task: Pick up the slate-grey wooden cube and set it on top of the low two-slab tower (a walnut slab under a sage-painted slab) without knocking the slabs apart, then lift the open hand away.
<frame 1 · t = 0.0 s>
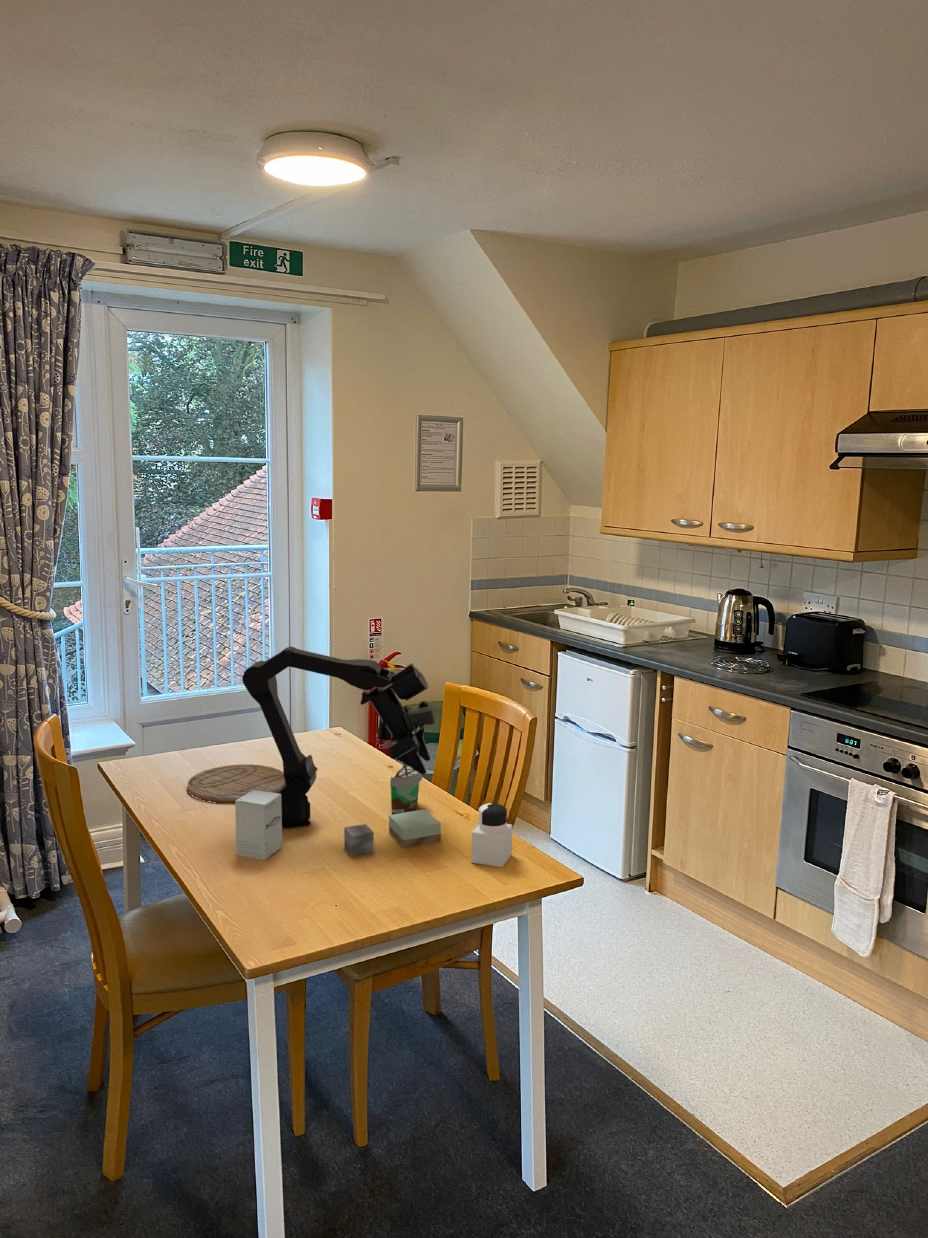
hand: (426, 766, 215), 15 cm above the table, tool tilted 35°, fingers open, 9 cm apart
walnut slab: (414, 840, 212), on the table, touching sage slab
grey cube: (358, 851, 205), on the table
medicine bottle: (491, 860, 202), on the table
sage slab: (414, 829, 212), point 2 cm above the table, touching walnut slab
trivet: (237, 788, 242), on the table
food container: (409, 810, 229), on the table
supplement box: (259, 852, 203), on the table
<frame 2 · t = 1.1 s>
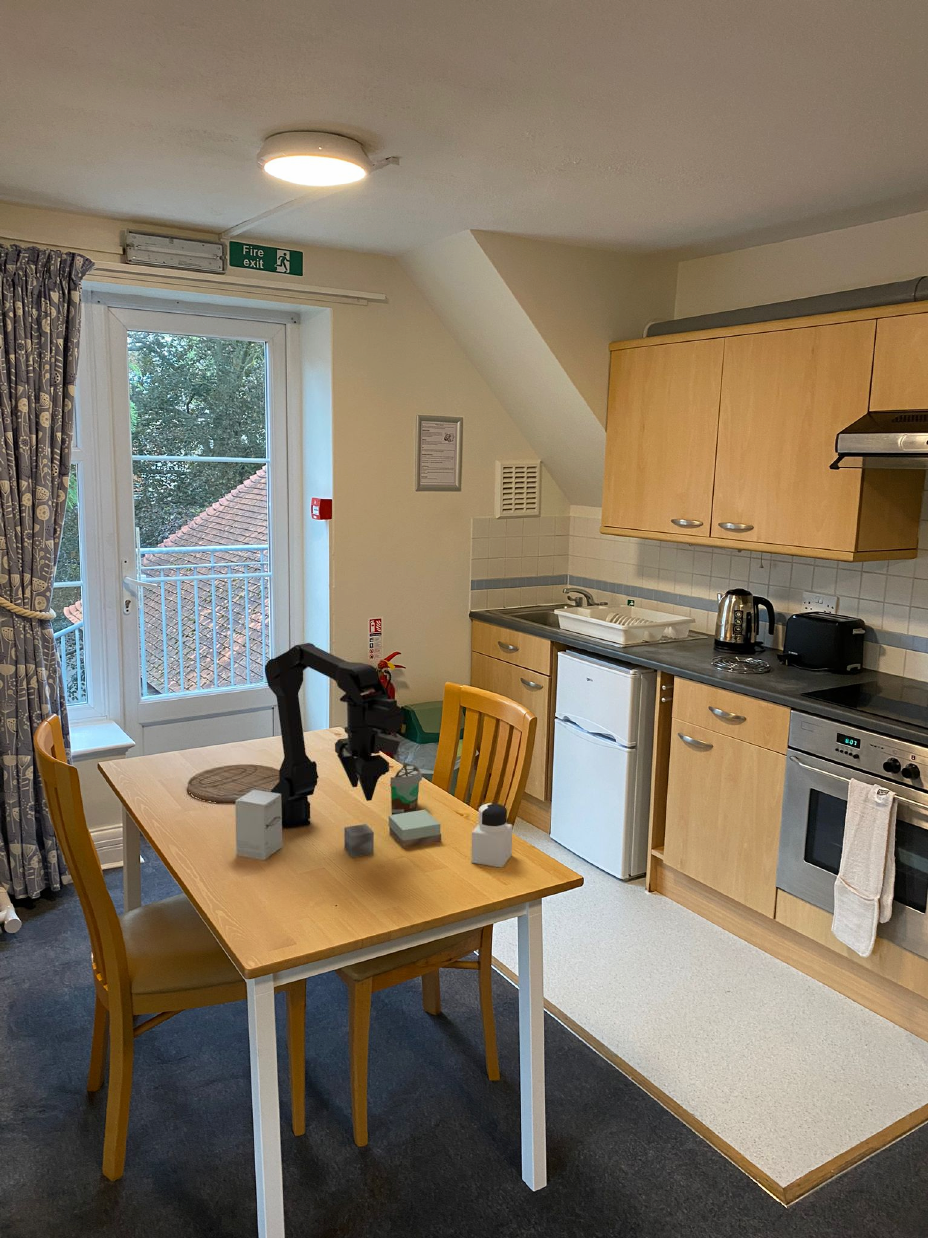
hand: (361, 793, 203), 13 cm above the table, tool pointing down, fingers open, 9 cm apart
nothing on the table moved.
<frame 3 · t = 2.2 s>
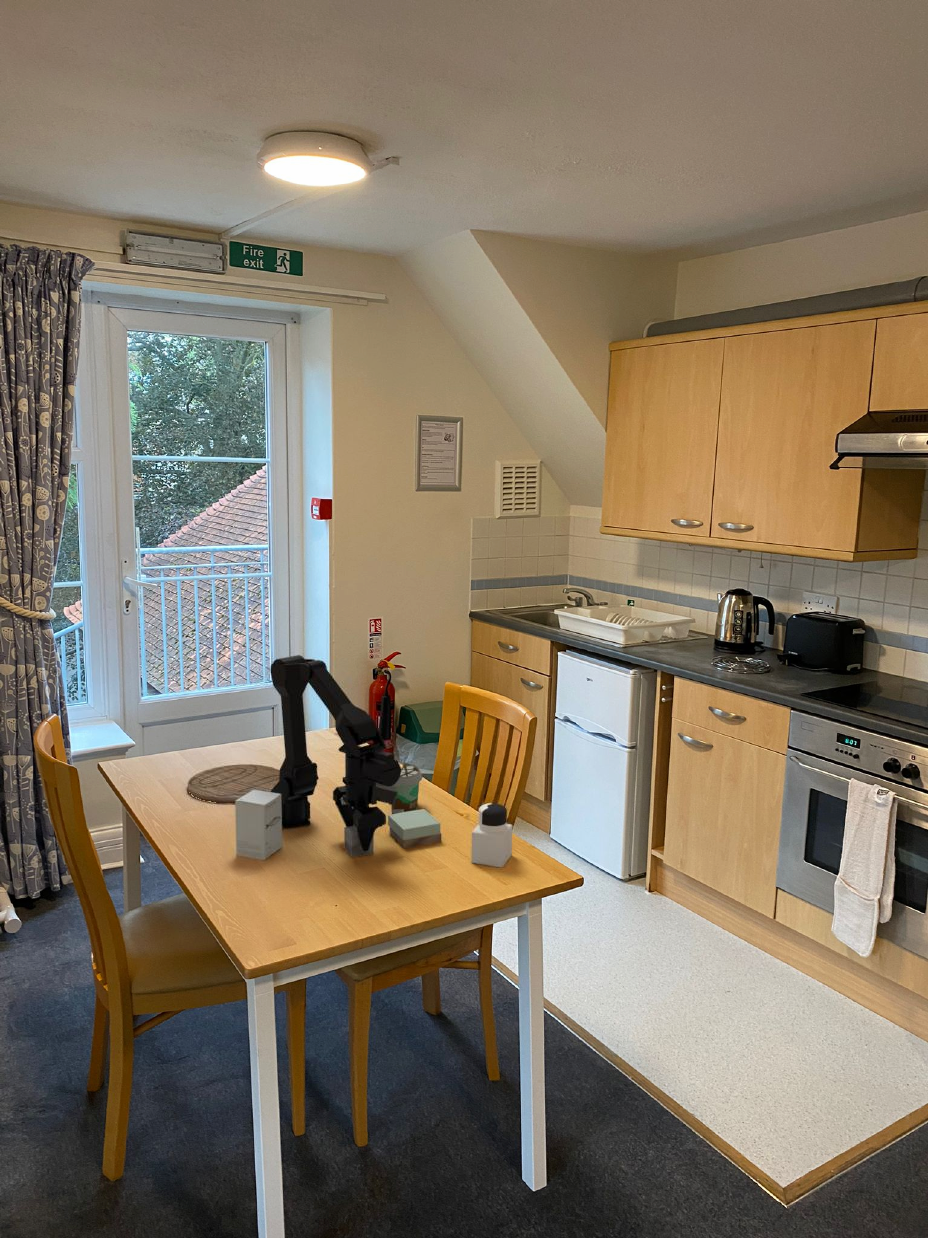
hand: (358, 842, 204), 2 cm above the table, tool pointing down, fingers open, 9 cm apart
nothing on the table moved.
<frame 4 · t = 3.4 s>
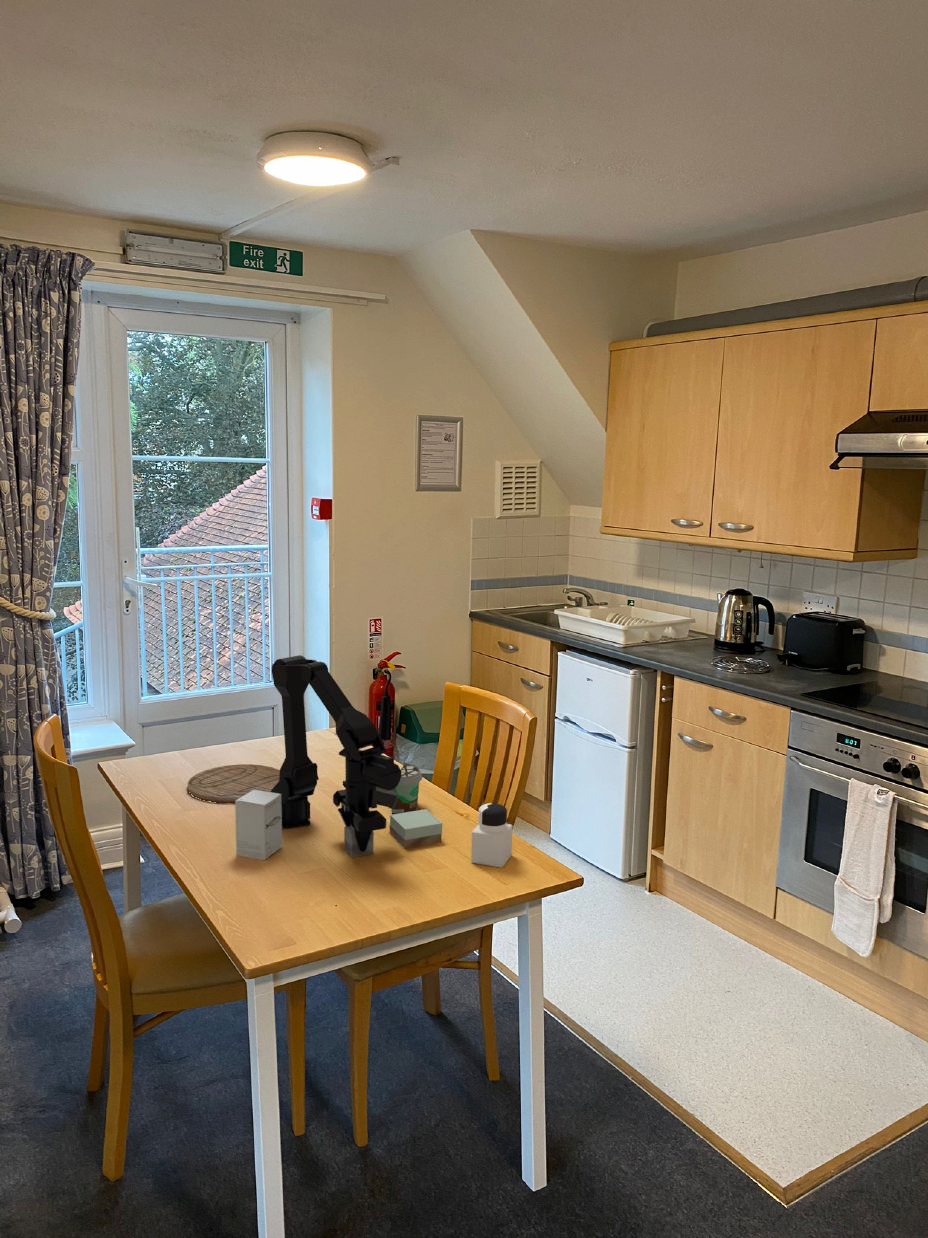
hand: (358, 846, 204), 1 cm above the table, tool pointing down, fingers closed on grey cube, 5 cm apart
grey cube: (358, 851, 205), on the table, touching gripper
everything else where it was.
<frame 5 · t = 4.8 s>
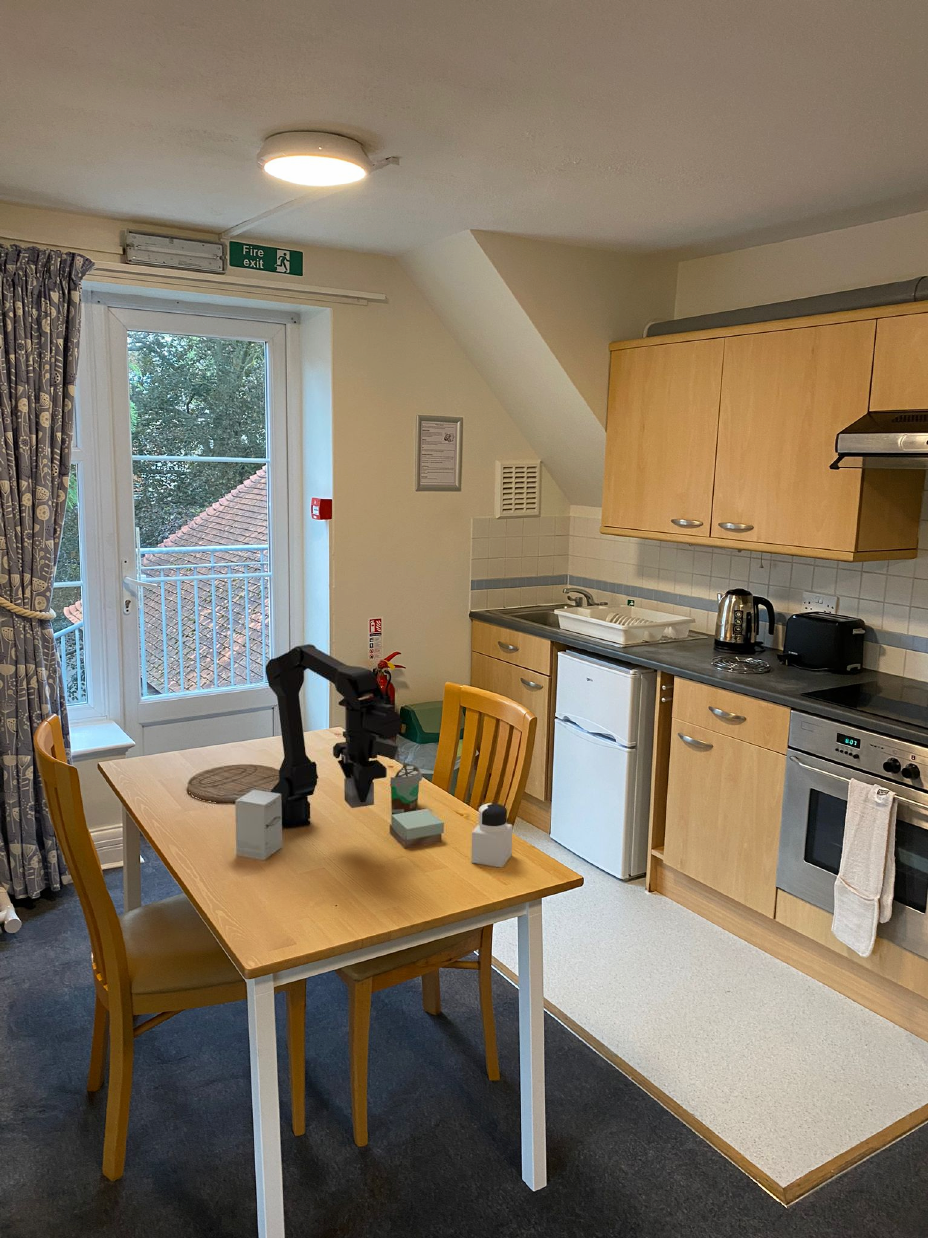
hand: (359, 798, 202), 12 cm above the table, tool pointing down, fingers closed on grey cube, 5 cm apart
grey cube: (359, 802, 203), point 11 cm above the table, touching gripper
everything else where it was.
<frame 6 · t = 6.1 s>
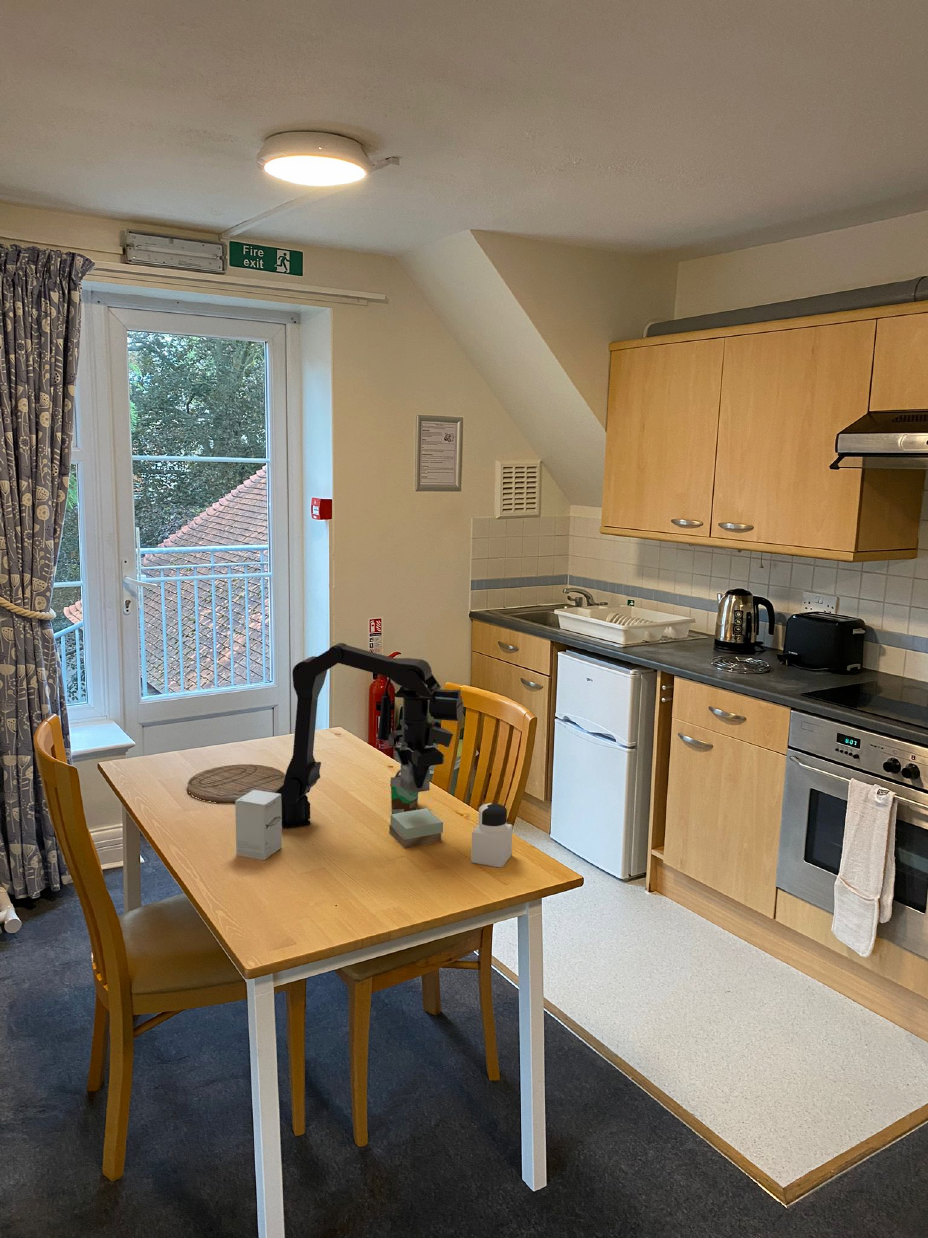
hand: (414, 784, 210), 13 cm above the table, tool pointing down, fingers closed on grey cube, 5 cm apart
grey cube: (414, 788, 210), point 12 cm above the table, touching gripper
everything else where it was.
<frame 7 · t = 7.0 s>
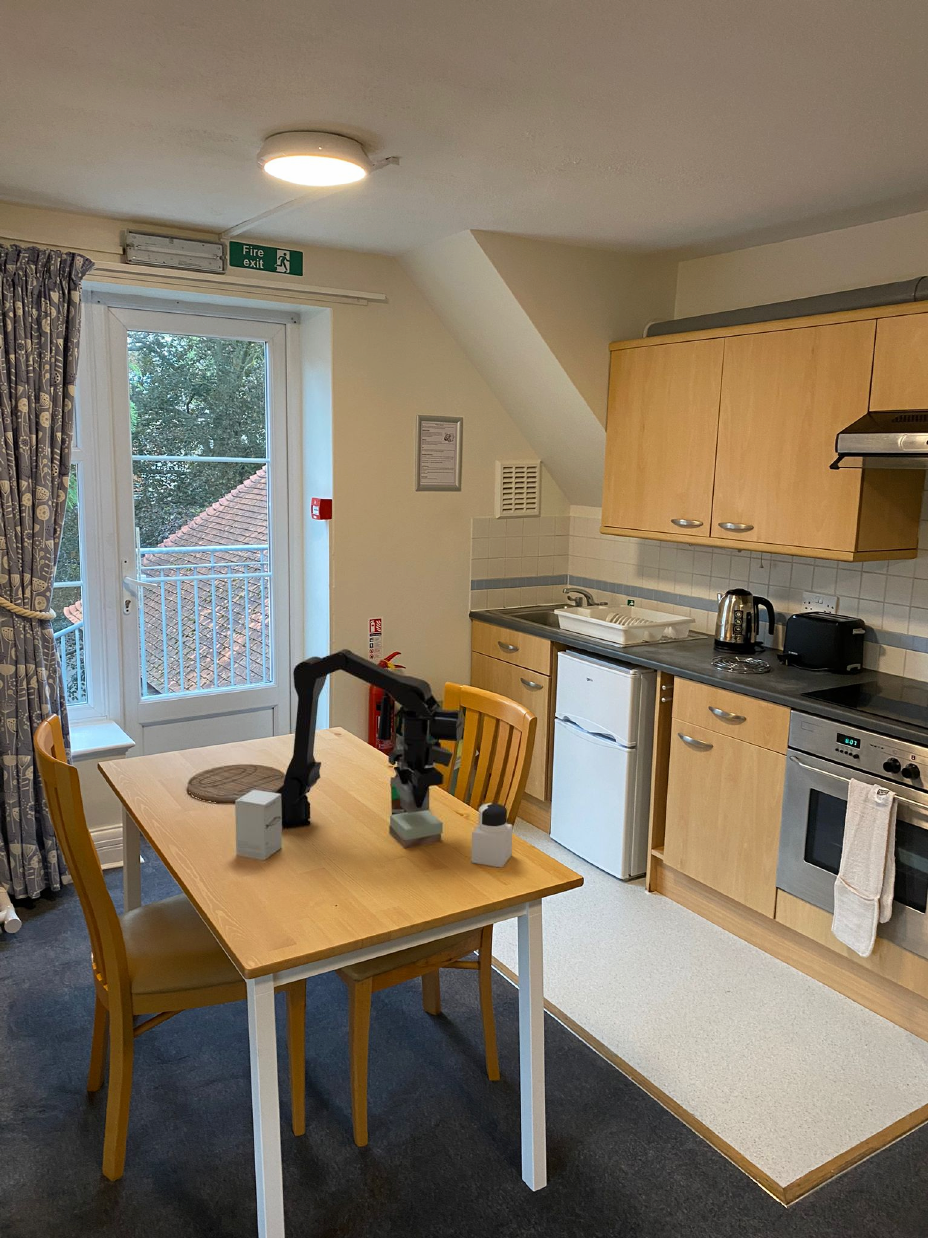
hand: (414, 803, 211), 8 cm above the table, tool pointing down, fingers closed on grey cube, 5 cm apart
grey cube: (414, 807, 211), point 7 cm above the table, touching gripper
everything else where it was.
when the fingers open (7 cm above the table, at t = 8.1 s): grey cube drops 2 cm, resting on sage slab.
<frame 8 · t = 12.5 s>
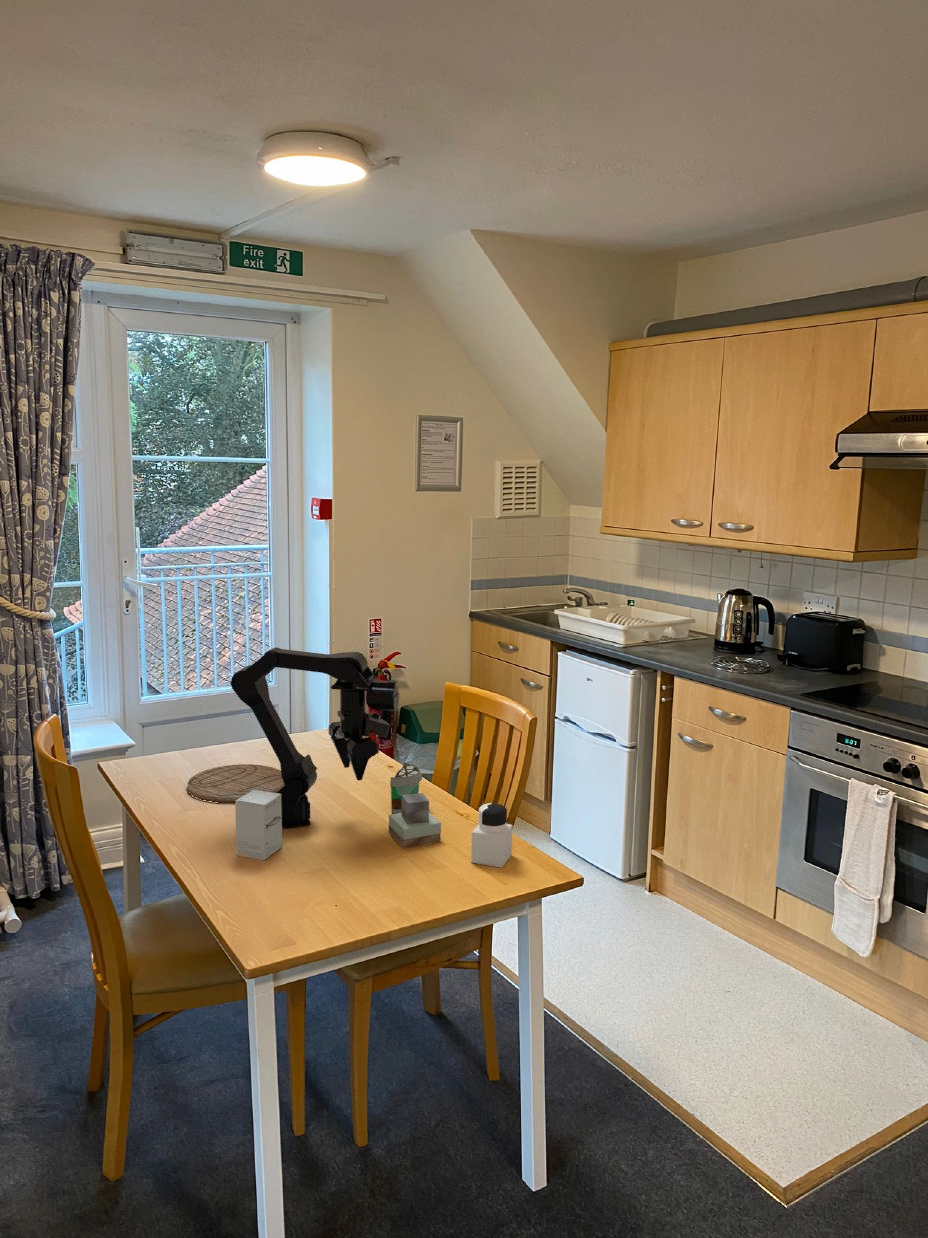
hand: (353, 773, 215), 13 cm above the table, tool pointing down, fingers open, 9 cm apart
grey cube: (414, 818, 212), point 4 cm above the table, touching sage slab
sage slab: (414, 829, 212), point 2 cm above the table, touching grey cube, walnut slab
everything else where it was.
at the end: grey cube 0.3 cm off-centre on the walnut slab, point 5.0 cm above the walnut slab's base; sage slab 0.3 cm off-centre on the walnut slab, point 2.5 cm above the walnut slab's base; walnut slab moved 0.7 cm from its start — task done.
